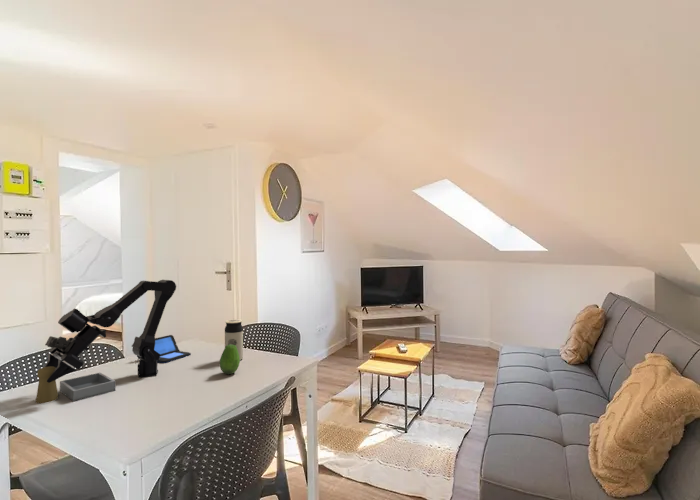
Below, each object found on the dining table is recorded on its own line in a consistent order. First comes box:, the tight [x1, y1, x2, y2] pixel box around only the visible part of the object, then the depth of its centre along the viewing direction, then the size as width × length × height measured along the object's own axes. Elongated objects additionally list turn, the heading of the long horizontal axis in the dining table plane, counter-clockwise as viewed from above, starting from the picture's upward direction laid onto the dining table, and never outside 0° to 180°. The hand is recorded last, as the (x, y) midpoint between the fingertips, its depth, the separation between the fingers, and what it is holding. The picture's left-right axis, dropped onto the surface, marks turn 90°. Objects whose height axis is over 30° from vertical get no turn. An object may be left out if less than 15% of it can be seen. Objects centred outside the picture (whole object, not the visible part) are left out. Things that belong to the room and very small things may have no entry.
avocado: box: [219, 344, 241, 375], centre depth 154 cm, size 8×8×12 cm
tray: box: [59, 371, 116, 402], centre depth 136 cm, size 16×13×4 cm
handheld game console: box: [154, 334, 192, 364], centre depth 178 cm, size 16×13×9 cm
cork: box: [35, 366, 59, 404], centre depth 128 cm, size 6×6×11 cm
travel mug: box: [224, 318, 244, 361], centre depth 174 cm, size 8×8×18 cm
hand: (43, 379), depth 127 cm, fingers open, 9 cm apart
